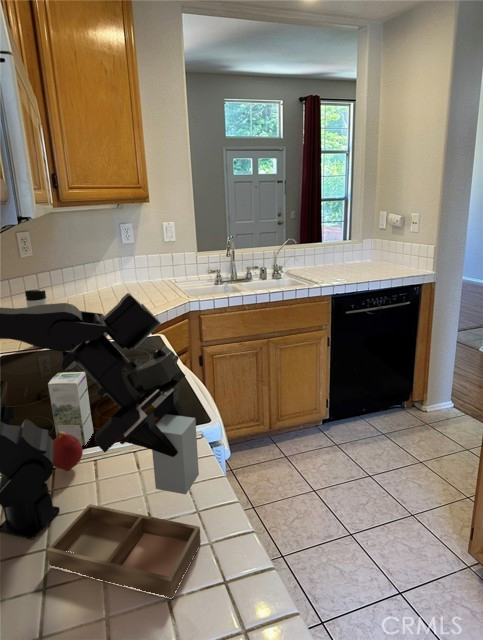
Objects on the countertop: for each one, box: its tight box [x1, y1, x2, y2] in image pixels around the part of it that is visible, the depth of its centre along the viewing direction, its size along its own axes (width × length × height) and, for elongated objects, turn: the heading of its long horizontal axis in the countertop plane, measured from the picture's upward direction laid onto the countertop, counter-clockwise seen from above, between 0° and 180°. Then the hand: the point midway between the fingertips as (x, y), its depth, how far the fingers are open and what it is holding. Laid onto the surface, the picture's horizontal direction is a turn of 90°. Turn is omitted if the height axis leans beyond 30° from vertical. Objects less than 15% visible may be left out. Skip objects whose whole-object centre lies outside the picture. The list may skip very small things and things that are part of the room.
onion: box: [52, 432, 83, 472], centre depth 80 cm, size 6×6×8 cm
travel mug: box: [24, 289, 48, 349], centre depth 149 cm, size 6×7×20 cm
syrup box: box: [47, 371, 94, 446], centre depth 88 cm, size 6×6×14 cm
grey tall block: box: [151, 414, 200, 495], centre depth 66 cm, size 5×5×10 cm
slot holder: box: [46, 503, 202, 598], centre depth 60 cm, size 18×9×3 cm, turn 73°
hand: (183, 445), depth 65 cm, fingers closed on grey tall block, 5 cm apart
